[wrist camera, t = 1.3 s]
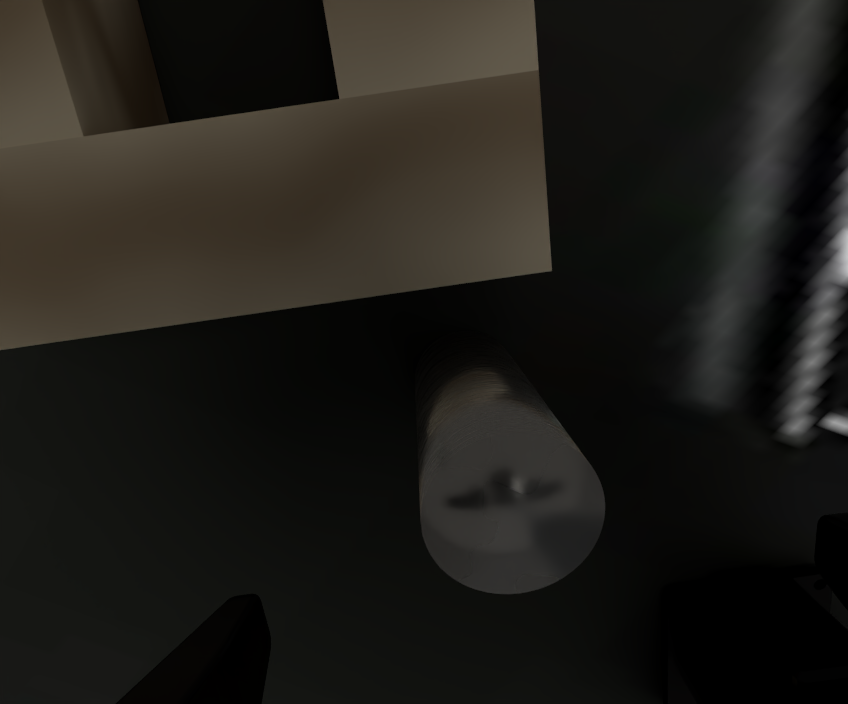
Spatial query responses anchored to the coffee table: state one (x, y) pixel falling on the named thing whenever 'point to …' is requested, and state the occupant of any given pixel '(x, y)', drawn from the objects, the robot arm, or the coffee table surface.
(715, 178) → the coffee table surface
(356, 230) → the socket board
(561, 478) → the peg
